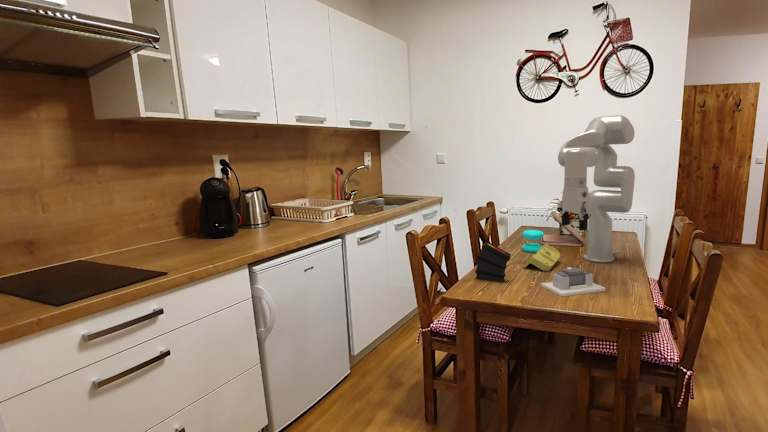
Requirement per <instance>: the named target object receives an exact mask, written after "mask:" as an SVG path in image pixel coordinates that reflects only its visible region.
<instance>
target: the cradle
mask: <svg viewBox="0 0 768 432" xmlns="http://www.w3.org/2000/svg"><path fill="white" fill-rule="evenodd" d="M540 286H541V287H542V288H544V289H546V290H548V291H550V292H552V293H554V294H556V295H558V296H560V297H567V296H568V297H569V296H575V295H583V294H591V293H597V292H598V293H599V292H605V291H606V287H604V286H602V285H600V284H599V285H598V284H597V283H594V274H593V273H590V274H587V275H584V281H583V285H577V286H570V288H569V277H561V276H559V275H557V274H556V273H553V274H552V281H551V282H550V281H548V282H542V283H541V284H540Z"/></svg>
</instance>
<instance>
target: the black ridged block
mask: <svg viewBox="0 0 768 432" xmlns="http://www.w3.org/2000/svg"><path fill="white" fill-rule="evenodd" d="M481 247H482V249H481V251H480V253H479V255H477V265H476V269H475V270H474V271H475V274H476V275H475V278H476V279H477V280H487V281H495V282H504V280H505V277H506V269H507V267H508V266H507V264H508V262H509V261H510V260H511V256H512V254H511V253H509V252H508V251H505V250H503V249H502V248H500V247H497V246H495V245H494V244H492V243H490V242H489V241H486V242H485V243H484V244H483V245H482V246H481Z"/></svg>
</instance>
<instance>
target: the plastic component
mask: <svg viewBox="0 0 768 432" xmlns="http://www.w3.org/2000/svg"><path fill="white" fill-rule="evenodd" d="M560 257H561V253H560V252H559V250H557V249H556V248H554V247H552V245H547V244H544V245H543V244H542V247H541V248H540V250H539V251H538V252H537V253H535V254H534V255H533V256H530V257H529V258H528V259H527V261H526V262H524V264H523V265H522V268H524V269H526V268H527V267H528V266H529V265H530V264H531V265H533V266H535V267H536V268H538V269H540V270H542V271H543V272H549V271H550V270H551V269H553V267H554V266H555V265H556V264H557V262H558V261H559V259H560Z"/></svg>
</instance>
